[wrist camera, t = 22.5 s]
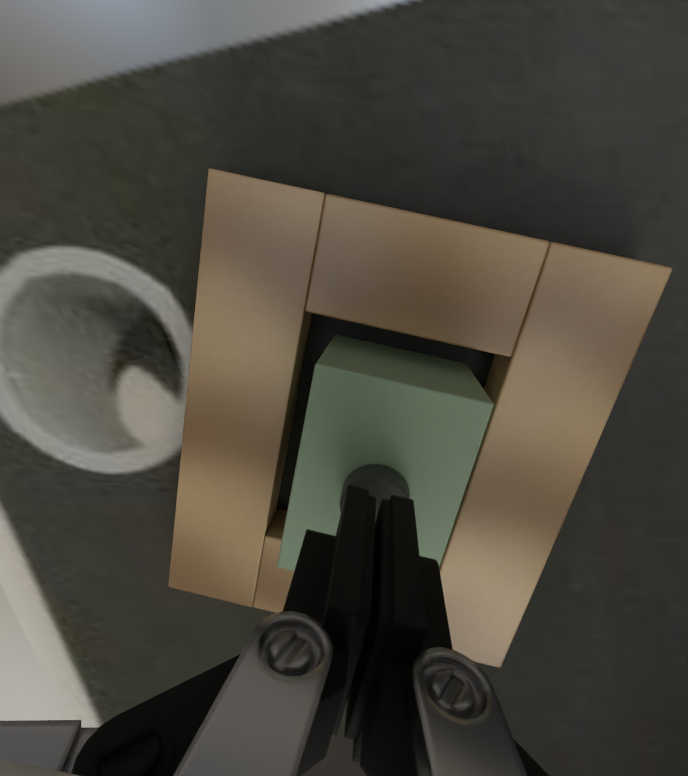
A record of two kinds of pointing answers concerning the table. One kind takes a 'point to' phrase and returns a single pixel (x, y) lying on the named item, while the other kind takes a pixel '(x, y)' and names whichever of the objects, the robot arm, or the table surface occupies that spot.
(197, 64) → the table surface
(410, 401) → the green knobbed block
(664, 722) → the table surface
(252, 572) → the wooden frame
